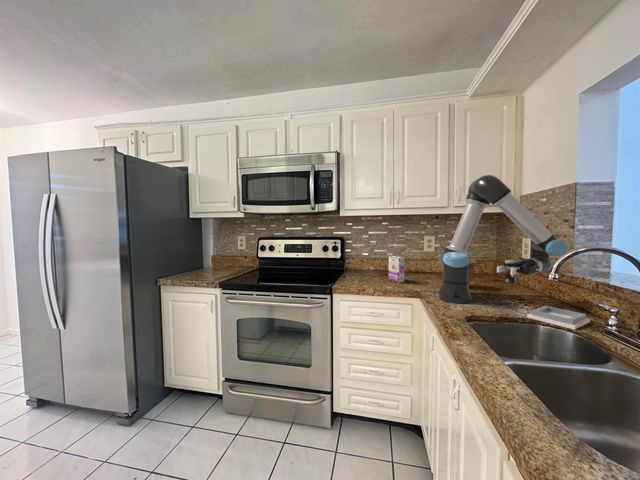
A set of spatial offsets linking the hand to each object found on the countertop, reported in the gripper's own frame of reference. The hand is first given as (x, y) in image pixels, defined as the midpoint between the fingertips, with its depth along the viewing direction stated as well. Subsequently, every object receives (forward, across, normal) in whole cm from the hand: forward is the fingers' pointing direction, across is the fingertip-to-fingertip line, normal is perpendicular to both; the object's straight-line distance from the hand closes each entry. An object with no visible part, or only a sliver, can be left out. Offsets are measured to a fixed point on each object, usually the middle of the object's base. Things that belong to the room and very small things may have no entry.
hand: (504, 270), depth 122 cm
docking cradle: (-5, -18, -18) cm, 26 cm away
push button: (-5, 0, -6) cm, 8 cm away
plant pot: (-24, +36, -18) cm, 47 cm away
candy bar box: (-2, +67, -18) cm, 69 cm away
